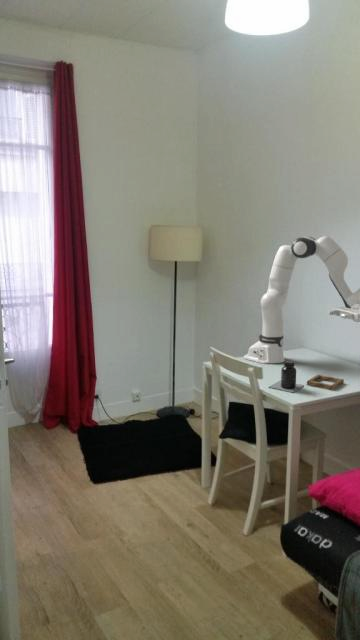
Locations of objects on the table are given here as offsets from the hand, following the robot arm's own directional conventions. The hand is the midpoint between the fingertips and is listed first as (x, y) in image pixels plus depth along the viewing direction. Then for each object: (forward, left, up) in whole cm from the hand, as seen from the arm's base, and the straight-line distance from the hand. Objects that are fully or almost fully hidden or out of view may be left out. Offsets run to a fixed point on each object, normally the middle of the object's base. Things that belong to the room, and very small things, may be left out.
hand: (336, 314), depth 255 cm
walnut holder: (0, -10, -32) cm, 34 cm away
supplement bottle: (-11, -26, -32) cm, 42 cm away
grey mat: (-13, -25, -32) cm, 43 cm away
